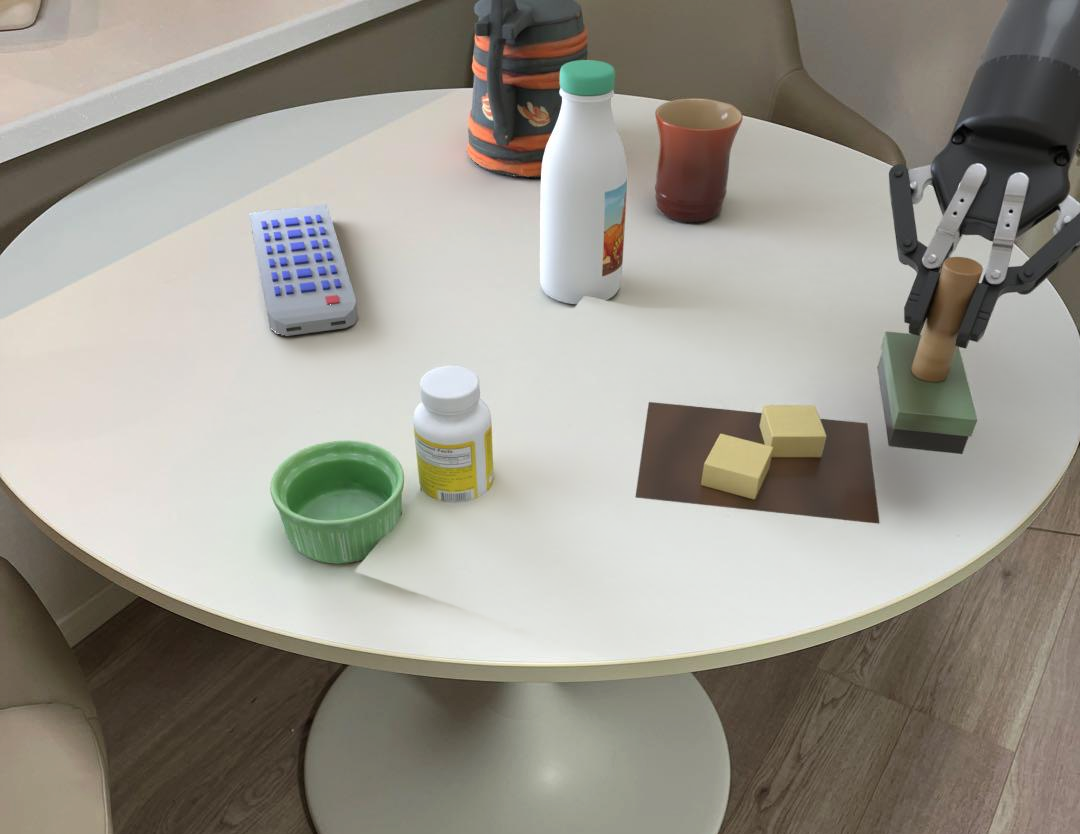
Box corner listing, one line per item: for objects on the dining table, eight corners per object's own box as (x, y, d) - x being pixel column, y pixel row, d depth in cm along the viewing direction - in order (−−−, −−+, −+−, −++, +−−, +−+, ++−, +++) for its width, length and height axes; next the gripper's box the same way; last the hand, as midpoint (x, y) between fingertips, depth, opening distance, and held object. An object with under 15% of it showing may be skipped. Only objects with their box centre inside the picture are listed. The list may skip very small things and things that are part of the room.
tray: (863, 438, 83) (867, 422, 82) (875, 539, 74) (879, 523, 73) (647, 417, 85) (648, 401, 84) (633, 513, 76) (635, 496, 75)
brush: (945, 373, 77) (991, 232, 69) (964, 456, 70) (1018, 309, 62) (875, 366, 77) (914, 225, 70) (887, 448, 70) (931, 301, 63)
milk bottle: (578, 315, 96) (585, 89, 83) (523, 285, 100) (521, 65, 87) (637, 289, 100) (653, 68, 87) (582, 260, 104) (589, 46, 91)
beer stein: (570, 204, 114) (576, 3, 100) (440, 189, 116) (429, -9, 103) (603, 137, 127) (612, -47, 114) (486, 126, 130) (481, -56, 116)
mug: (704, 236, 108) (716, 137, 101) (631, 214, 112) (638, 116, 105) (757, 197, 116) (772, 101, 109) (688, 177, 119) (698, 83, 112)
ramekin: (254, 548, 73) (242, 500, 70) (324, 474, 79) (317, 426, 76) (367, 586, 70) (360, 537, 67) (431, 506, 76) (427, 458, 73)
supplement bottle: (460, 461, 80) (454, 350, 74) (509, 494, 77) (507, 381, 71) (404, 492, 77) (393, 380, 71) (453, 528, 74) (446, 414, 68)
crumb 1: (769, 468, 77) (773, 446, 76) (754, 500, 75) (759, 478, 73) (717, 454, 79) (720, 432, 77) (700, 485, 76) (703, 463, 75)
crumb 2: (810, 426, 81) (815, 404, 80) (821, 457, 78) (827, 436, 77) (759, 426, 81) (763, 404, 80) (768, 457, 78) (772, 436, 77)
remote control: (329, 221, 110) (327, 201, 109) (361, 329, 94) (359, 307, 93) (252, 230, 109) (248, 209, 107) (271, 341, 93) (267, 318, 91)
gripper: (927, 31, 66) (828, 290, 66) (1167, 72, 61) (1059, 352, 62) (925, 92, 73) (835, 326, 73) (1140, 133, 68) (1043, 383, 69)
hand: (938, 336), depth 68 cm, fingers closed on brush, 2 cm apart
